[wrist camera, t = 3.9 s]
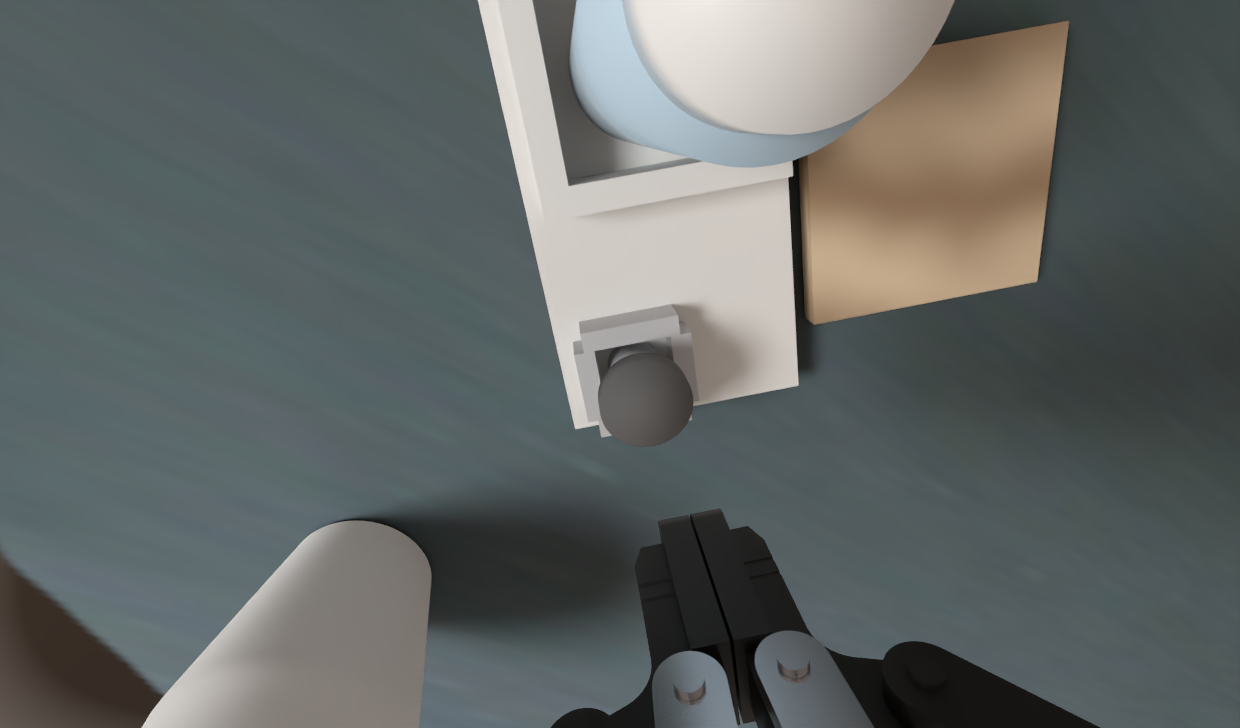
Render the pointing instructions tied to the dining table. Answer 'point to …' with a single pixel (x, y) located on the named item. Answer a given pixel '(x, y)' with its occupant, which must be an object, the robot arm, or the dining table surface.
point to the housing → (641, 232)
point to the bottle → (743, 71)
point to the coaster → (936, 180)
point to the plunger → (643, 396)
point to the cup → (318, 641)
